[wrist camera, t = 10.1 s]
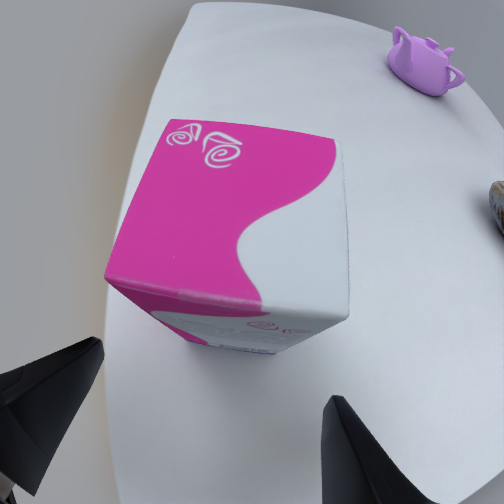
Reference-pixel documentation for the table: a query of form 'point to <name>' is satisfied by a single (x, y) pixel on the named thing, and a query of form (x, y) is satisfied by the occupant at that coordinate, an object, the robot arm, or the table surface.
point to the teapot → (422, 64)
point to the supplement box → (237, 236)
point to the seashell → (497, 202)
